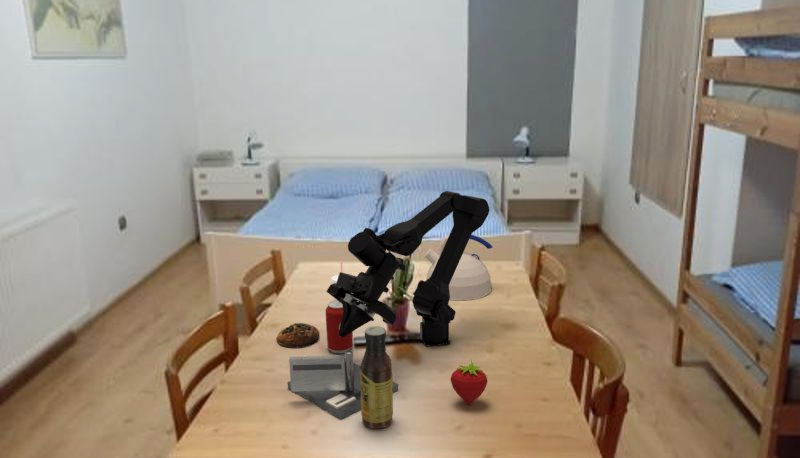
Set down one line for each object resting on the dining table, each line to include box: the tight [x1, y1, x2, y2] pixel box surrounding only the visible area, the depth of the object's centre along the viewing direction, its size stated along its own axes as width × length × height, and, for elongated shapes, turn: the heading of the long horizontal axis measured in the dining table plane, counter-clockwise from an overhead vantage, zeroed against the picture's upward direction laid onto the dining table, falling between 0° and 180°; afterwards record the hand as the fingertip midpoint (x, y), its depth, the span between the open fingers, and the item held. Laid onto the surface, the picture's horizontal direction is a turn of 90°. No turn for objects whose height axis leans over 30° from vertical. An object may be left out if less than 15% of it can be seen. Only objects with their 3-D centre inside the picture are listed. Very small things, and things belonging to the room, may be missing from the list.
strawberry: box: [450, 359, 488, 405], centre depth 132 cm, size 6×8×10 cm
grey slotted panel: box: [288, 350, 354, 393], centre depth 133 cm, size 13×2×8 cm, turn 91°
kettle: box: [423, 233, 493, 301], centre depth 196 cm, size 20×21×18 cm
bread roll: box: [275, 322, 320, 349], centre depth 164 cm, size 11×11×5 cm
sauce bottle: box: [360, 325, 394, 430], centre depth 124 cm, size 6×6×20 cm
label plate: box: [326, 394, 356, 409], centre depth 132 cm, size 5×4×1 cm
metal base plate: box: [287, 361, 399, 421], centre depth 139 cm, size 16×18×2 cm
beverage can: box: [325, 299, 354, 354], centre depth 157 cm, size 6×6×12 cm
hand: (340, 336), depth 140 cm, fingers closed
